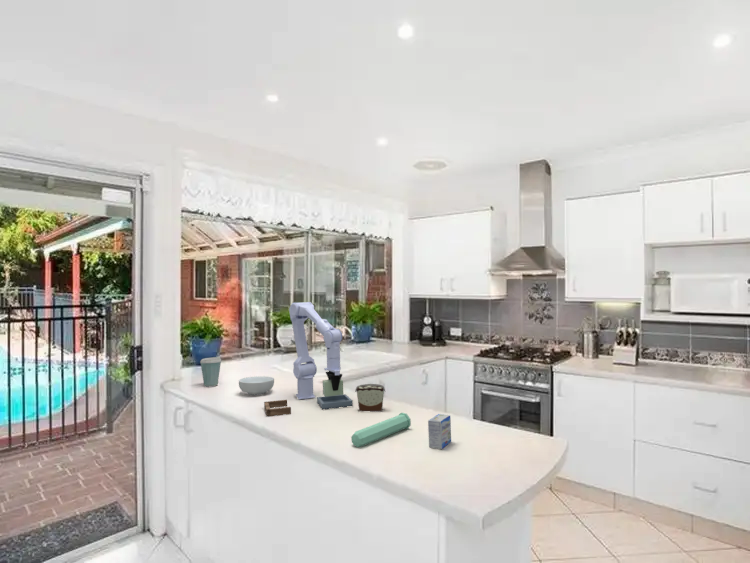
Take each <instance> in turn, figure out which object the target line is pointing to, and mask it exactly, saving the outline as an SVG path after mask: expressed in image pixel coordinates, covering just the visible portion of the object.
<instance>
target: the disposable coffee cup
mask: <svg viewBox="0 0 750 563" xmlns="http://www.w3.org/2000/svg"><path fill="white" fill-rule="evenodd" d="M199 363H200V368H201V375H202V381H203V385H204V387H205V388H207V387H208V388H210V387H217V386H218V383H219V377H220V371H221V363H222V358H221V356H216V357H215V356H214V357H205V358H202V359H201V360H200V362H199Z"/></svg>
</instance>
